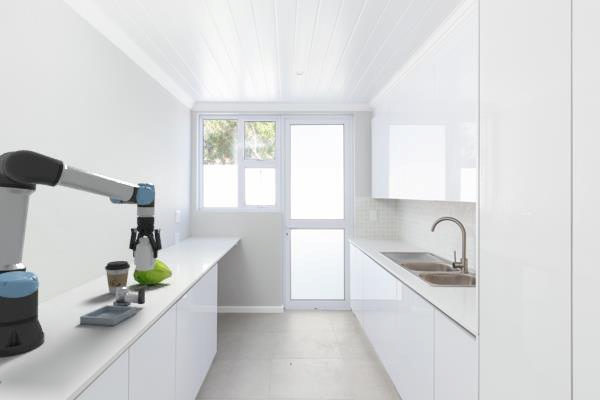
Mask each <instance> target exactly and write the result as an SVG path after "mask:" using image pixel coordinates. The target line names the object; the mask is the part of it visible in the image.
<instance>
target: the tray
mask: <svg viewBox="0 0 600 400" xmlns="http://www.w3.org/2000/svg"><path fill="white" fill-rule="evenodd" d="M135 315H137V306H113V304H112V305H111V304H110V305H108V304H105V305H103V306H101V307H98V308H96V309H94V310H92V311H90V312H87V313H86V314H83V315H81V316H79V324H80V325H91V326H102V327H115V326H117V325H119V324H120V323H122V322H124V321H127V320H128V319H130V318H131V317H133V316H135Z"/></svg>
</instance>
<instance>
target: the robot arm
mask: <svg viewBox="0 0 600 400" xmlns="http://www.w3.org/2000/svg"><path fill="white" fill-rule="evenodd" d="M37 185H42V186H49V187H53V188H55V187H57V186H61V187H64V188H69V189H74V190H76V191H82V192H84V193H85V192H86V193H91V194H95V195H98V196H103V197H107V198H109V201H110V202H111V203H112V204H116V205H123V204H124V205H125V204H126V205H136V206H137V207H136V216H137V217H136V224H137V225H136V227H131V228H130V233H131V234H130V239H129V246H128V249H129V250H132V256H133V257H132V258H133V259H134V261H133V263H134V265H135V266H136V246H137V244H139V243H140V242H139V238H141V237H147V238H149V241H150V244H151V247H152V249H153V251H152V252H151V266H153V265H156V259H157V258H158V253H159V251H160V250H162V248H163V247H162V239H161V233H160V232H161V228H156V227H155V206H156V205H155V204H156V203H155V201H156V190H155V189H156V188H155V184H154V183H147V182H146V183H143V182H141V183H137V184H133V183H129V182H126V181H123V180H119V179H117V178H116V179H115V178H112V177H110V176H109V177H108V176H105V175H102V174H99V173H96V172H95V173H94V172H93V171H88V170H85V169H81V168H78V167H75V166H70V165H67V164H66V163H65V162H64V161H63V160H60V159H57V158H54V157H50V156H48V155H45V154H42V153H40V152H37V151H33V150H28V149H20V150H19V149H18V150H15V151H8V152H4V153H3V154H0V358H1V357H10V356H15V355H20V354H23V353H27V352H29V351H32V350H34V349H36V348H39V347H40V346H41V345H43V344H44V343H45V332H44V330H43V328H42V325H41V323H40V321H39V286H40V283H39V277H38V275H37V274H36V273H34V272H31V271H27V265H25V264H24V262H23V255H24V254H23V253H24V245H25V239H26V238H25V236H26V228H27V221H28V220H27V219H28V212H29V203H30V197H31V195H32V194H34V193H36V190H37Z"/></svg>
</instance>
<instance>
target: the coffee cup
mask: <svg viewBox="0 0 600 400" xmlns="http://www.w3.org/2000/svg"><path fill="white" fill-rule="evenodd" d="M130 268H131V265H130V264H129V262H128V261H125V260H116V261H110V262H107V264H106V265H105V267H104V269H105V271H106V277H107V285H108V286H107V287H108V292H109V294H111V295H116V288H117V287H122V286H128V285H127V284H128V276H129V270H130Z"/></svg>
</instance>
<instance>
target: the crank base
mask: <svg viewBox="0 0 600 400" xmlns="http://www.w3.org/2000/svg"><path fill="white" fill-rule="evenodd" d="M130 305H131V303H130V302H123V303H117V302H116V300H115V301H113V302H112V306H126V307H128V306H130Z"/></svg>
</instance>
